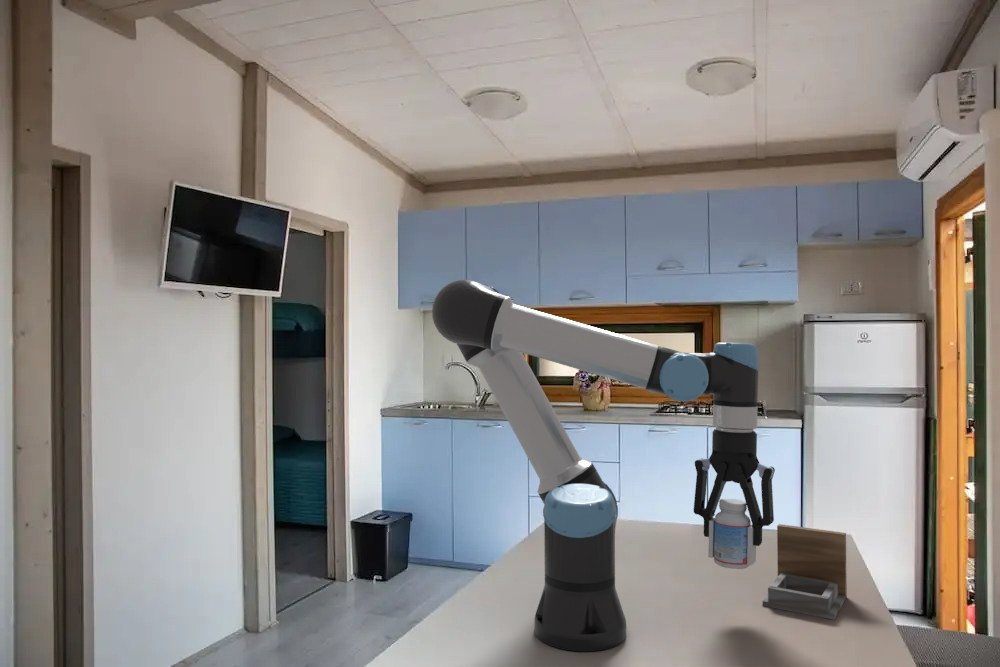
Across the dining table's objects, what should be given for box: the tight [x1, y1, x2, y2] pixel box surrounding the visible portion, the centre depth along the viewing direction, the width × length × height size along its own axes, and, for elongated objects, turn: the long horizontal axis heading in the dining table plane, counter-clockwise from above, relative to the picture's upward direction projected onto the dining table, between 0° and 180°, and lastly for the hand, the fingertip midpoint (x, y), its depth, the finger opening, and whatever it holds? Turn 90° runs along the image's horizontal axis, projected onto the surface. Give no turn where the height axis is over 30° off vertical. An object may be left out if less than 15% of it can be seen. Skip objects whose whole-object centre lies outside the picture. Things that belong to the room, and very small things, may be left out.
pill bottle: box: [713, 498, 752, 570], centre depth 127 cm, size 6×6×11 cm
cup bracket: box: [762, 523, 848, 621], centre depth 132 cm, size 13×12×12 cm
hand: (731, 559), depth 127 cm, fingers closed on pill bottle, 6 cm apart
